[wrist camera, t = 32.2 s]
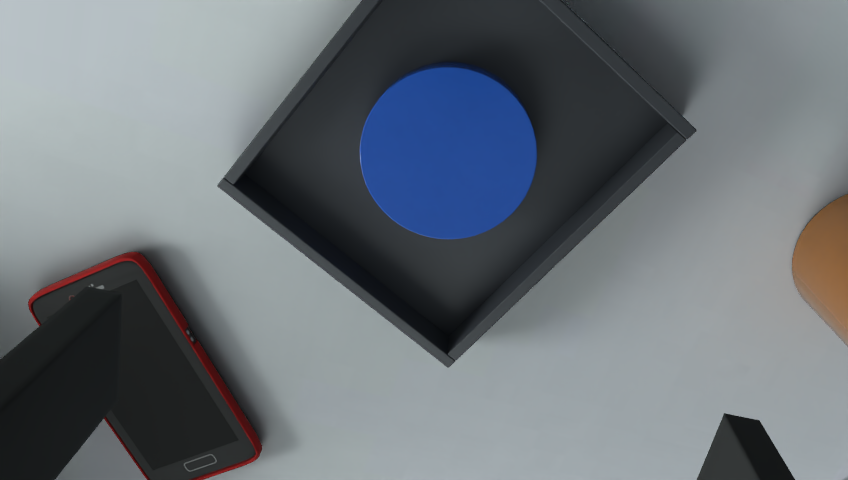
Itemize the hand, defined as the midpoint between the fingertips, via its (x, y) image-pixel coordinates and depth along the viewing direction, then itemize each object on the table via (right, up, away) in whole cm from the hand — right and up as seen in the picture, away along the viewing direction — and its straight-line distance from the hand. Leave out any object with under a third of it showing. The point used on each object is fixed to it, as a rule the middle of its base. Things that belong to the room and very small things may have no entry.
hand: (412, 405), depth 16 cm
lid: (+1, +8, +19) cm, 21 cm away
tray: (+2, +8, +21) cm, 23 cm away
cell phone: (-16, -4, +27) cm, 32 cm away
